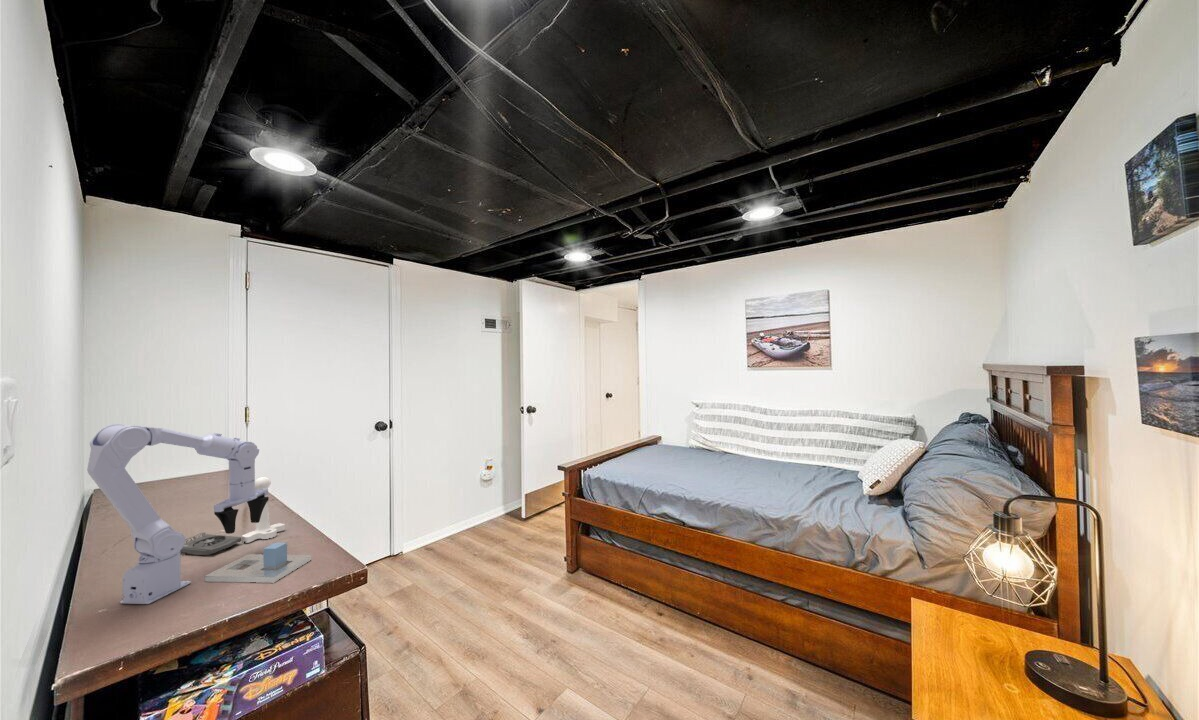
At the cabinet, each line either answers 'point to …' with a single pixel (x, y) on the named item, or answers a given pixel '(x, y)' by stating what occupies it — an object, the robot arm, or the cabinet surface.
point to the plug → (275, 556)
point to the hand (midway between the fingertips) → (243, 527)
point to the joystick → (263, 518)
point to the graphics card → (208, 544)
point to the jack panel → (255, 570)
